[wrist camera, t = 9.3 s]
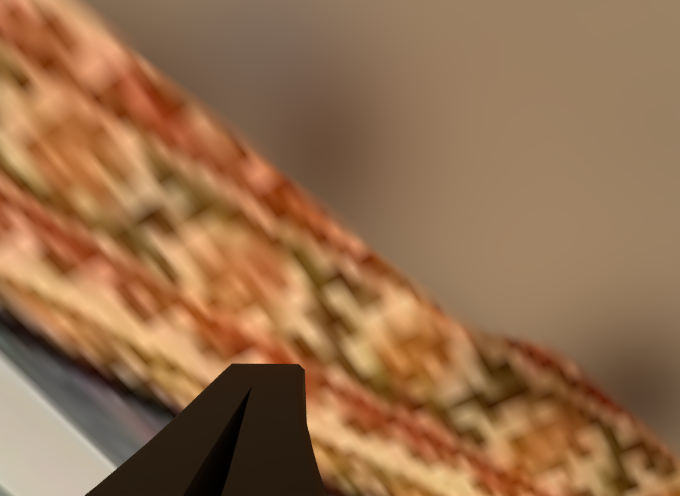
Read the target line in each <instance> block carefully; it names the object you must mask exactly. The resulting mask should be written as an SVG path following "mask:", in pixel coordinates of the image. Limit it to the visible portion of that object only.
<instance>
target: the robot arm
mask: <svg viewBox="0 0 680 496" xmlns="http://www.w3.org/2000/svg"><path fill="white" fill-rule="evenodd" d="M85 496H327V495H326V492H325V488H324V485H323V482H322V479H321V476H320V473H319V470H318V466H317V463H316V459H315V456H314V452H313V448H312V444H311V439H310V435H309V431H308V427H307V417H306V391H305V370H304V369H303V368H302V367H301V366H300V365H299V364H231V365H230V366H229V367H228V368H227V369H226V370H225V371H223V372H222V373H221V374H220V375H219V376H218V377H217V378H216V379H215V380H214V381H213V382H212V383H211V384H210V385H209V386H208V387H207V388H206V389H205V390H204V391H202V392H201V393H200V394H199V395H198V396H197V397H196V398H195V399H194V400H193V401H192V402H191V403H190V404H189V405H188V406H187V407H186V408H185V409H184V410H183V411H182V412H181V413H180V414H178V415H177V416H176V417H175V418H174V419H173V420H172V421H171V422H170V423H169V424H168V425H166V426H165V427H164V428H163V429H162V430H161V431H160V432H159V433H158V434H157V435H156V436H155V437H153V438H152V439H151V440H150V441H149V442H148V443H147V444H146V445H145V446H143V447H142V448H141V449H140V450H139V451H137V452H136V453H135V454H134V455H133V456H132V457H130V458H129V459H128V460H127V461H126V462H124V463H123V464H122V465H121V466H120V467H119V468H117V469H116V470H115V471H114V472H113V473H111V474H110V475H109V476H108V477H107V478H106V479H104V480H103V481H102V482H101V483H100V484H98V485H97V486H96V487H95V488H93V489H92V490H91V491H90V492H88V493H87V494H86V495H85Z"/></svg>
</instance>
